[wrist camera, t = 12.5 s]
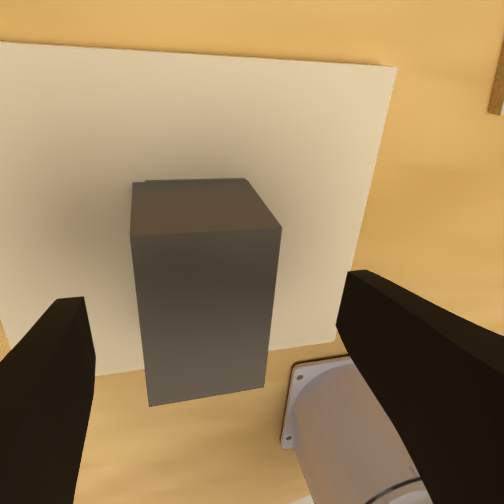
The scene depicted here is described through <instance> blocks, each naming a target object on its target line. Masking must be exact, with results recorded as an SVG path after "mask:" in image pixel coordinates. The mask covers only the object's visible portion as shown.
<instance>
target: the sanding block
mask: <svg viewBox="0 0 504 504" xmlns="http://www.w3.org/2000/svg"><path fill="white" fill-rule="evenodd" d="M281 234H282V226H281V225H280V223H279V222H278V221H277V219H276V218H275V217H274V215H273V214H272V213H271V211H270V210H269V209H268V207H267V206H266V205H265V203H264V202H263V200H262V199H261V198H260V196H259V195H258V194H257V192H256V191H255V190H254V188H253V187H252V186H251V184H250V183H249V181H248V180H213V181H170V182H133V185H132V203H131V220H130V244H131V253H132V262H133V271H134V279H135V288H136V297H137V306H138V315H139V323H140V332H141V341H142V350H143V359H144V367H145V376H146V385H147V394H148V403H149V407H152V406H158V405H163V404H169V403H175V402H181V401H187V400H193V399H199V398H204V397H210V396H216V395H222V394H228V393H234V392H240V391H245V390H251V389H257V388H263V387H264V382H265V374H266V365H267V356H268V348H269V339H270V330H271V321H272V313H273V304H274V295H275V287H276V278H277V269H278V261H279V252H280V243H281Z"/></svg>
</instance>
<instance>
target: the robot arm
mask: <svg viewBox="0 0 504 504" xmlns="http://www.w3.org/2000/svg"><path fill="white" fill-rule="evenodd" d="M336 328H337V330H338V332H339V335H340V337H341V339H342V342H343V344H344V346H345V348H346V350H347V352H348V354H349V356H346V357H340V358H334V359H327V360H321V361H315V362H308V363H302V364H298V365H296V366H295V367H294V368H293V370H292V376H291V382H290V388H289V394H288V400H287V407H286V413H285V419H284V425H283V431H282V437H281V447H282V448H283V449H290V448H294V450H295V453H296V456H297V458H298V461H299V464H300V466H301V469H302V472H303V474H304V477H305V480H306V483H307V485H308V488H309V491H310V493H311V496H312V499H313V501H314V504H504V336H502V335H499V334H497V333H494V332H492V331H490V330H487V329H485V328H483V327H481V326H478V325H476V324H474V323H472V322H470V321H468V320H466V319H463V318H461V317H459V316H457V315H455V314H453V313H451V312H449V311H447V310H445V309H443V308H441V307H439V306H437V305H435V304H433V303H431V302H429V301H427V300H425V299H423V298H422V297H420V296H418V295H416V294H414V293H412V292H410V291H408V290H406V289H405V288H403V287H401V286H399V285H397V284H395V283H393V282H391V281H389V280H387V279H385V278H383V277H381V276H379V275H377V274H375V273H373V272H370V271H368V270H357V271H347V276H346V280H345V285H344V289H343V294H342V298H341V302H340V307H339V311H338V316H337V320H336ZM95 367H96V354H95V349H94V344H93V339H92V334H91V329H90V324H89V319H88V314H87V309H86V304H85V299H84V296H80V297H70V298H59V299H56V300H55V301H54V302H53V303H52V304H51V305H50V307H49V308H48V309H47V310H46V311H45V312H44V313H43V315H42V316H41V317H40V318H39V319H38V320H37V322H36V323H35V324H34V325H33V326H32V327H31V329H30V330H29V331H28V332H27V333H26V334H25V335H24V337H23V338H22V339H21V340H20V341H19V342H18V343H17V344H16V345H15V346H14V348H13V349H12V350H11V351H10V352H9V353H8V354H7V355H6V356H5V357H4V359H3V360H2V361H1V362H0V504H73V501H74V494H75V488H76V483H77V477H78V472H79V467H80V462H81V457H82V452H83V447H84V442H85V437H86V432H87V427H88V421H89V416H90V411H91V406H92V400H93V395H94V382H95Z"/></svg>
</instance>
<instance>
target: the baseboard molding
mask: <svg viewBox="0 0 504 504" xmlns="http://www.w3.org/2000/svg"><path fill="white" fill-rule="evenodd" d="M488 111H489V112H490V113H492V114H495V115H500V116H501V115H504V41H503V46H502V50H501V54H500V59H499V63H498V67H497V72H496V76H495V80H494V85H493V89H492V94H491V98H490V102H489V107H488Z"/></svg>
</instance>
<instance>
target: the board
mask: <svg viewBox="0 0 504 504" xmlns="http://www.w3.org/2000/svg"><path fill="white" fill-rule="evenodd" d="M397 69H398V67H393V66H385V65H374V64H358V63H342V62H326V61H311V60H295V59H279V58H263V57H247V56H232V55H216V54H200V53H184V52H168V51H153V50H137V49H121V48H105V47H89V46H74V45H58V44H42V43H26V42H11V41H0V320H1V322H2V325H3V328H4V331H5V334H6V337H7V339H8V342H9V345H10V348H11V350H12V349H13V348H14V346H15V345H16V344H17V343H18V342H19V341H20V340H21V339H22V338H23V337H24V335H25V334H26V333H27V332H28V331H29V330H30V329H31V327H32V326H33V325H34V324H35V323H36V322H37V320H38V319H39V318H40V317H41V316H42V315H43V313H44V312H45V311H46V310H47V309H48V308H49V307H50V305H51V304H52V303H53V302H54V301H55V300H56V299H59V298H70V297H80V296H84V299H85V304H86V309H87V314H88V319H89V324H90V329H91V334H92V339H93V344H94V349H95V354H96V367H95V376H102V375H109V374H116V373H122V372H129V371H136V370H143V369H145V367H144V359H143V350H142V341H141V332H140V323H139V315H138V306H137V297H136V288H135V279H134V271H133V262H132V253H131V244H130V220H131V203H132V185H133V182H170V181H213V180H248V181H249V183H250V184H251V186H252V187H253V188H254V190H255V191H256V192H257V194H258V195H259V196H260V198H261V199H262V200H263V202H264V203H265V205H266V206H267V207H268V209H269V210H270V211H271V213H272V214H273V215H274V217H275V218H276V219H277V221H278V222H279V223H280V225H281V226H282V234H281V243H280V252H279V261H278V269H277V278H276V287H275V295H274V304H273V313H272V321H271V330H270V339H269V348H268V351H274V350H280V349H287V348H294V347H301V346H308V345H315V344H322V343H329V342H334V341H335V337H336V332H337V328H336V320H337V316H338V311H339V307H340V302H341V298H342V294H343V289H344V285H345V280H346V276H347V271H351V267H352V263H353V259H354V254H355V250H356V246H357V241H358V237H359V233H360V229H361V224H362V220H363V216H364V211H365V207H366V203H367V198H368V194H369V190H370V185H371V181H372V177H373V172H374V168H375V164H376V159H377V155H378V151H379V146H380V142H381V138H382V133H383V129H384V125H385V121H386V116H387V112H388V108H389V103H390V99H391V95H392V90H393V86H394V82H395V77H396V73H397Z"/></svg>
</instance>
